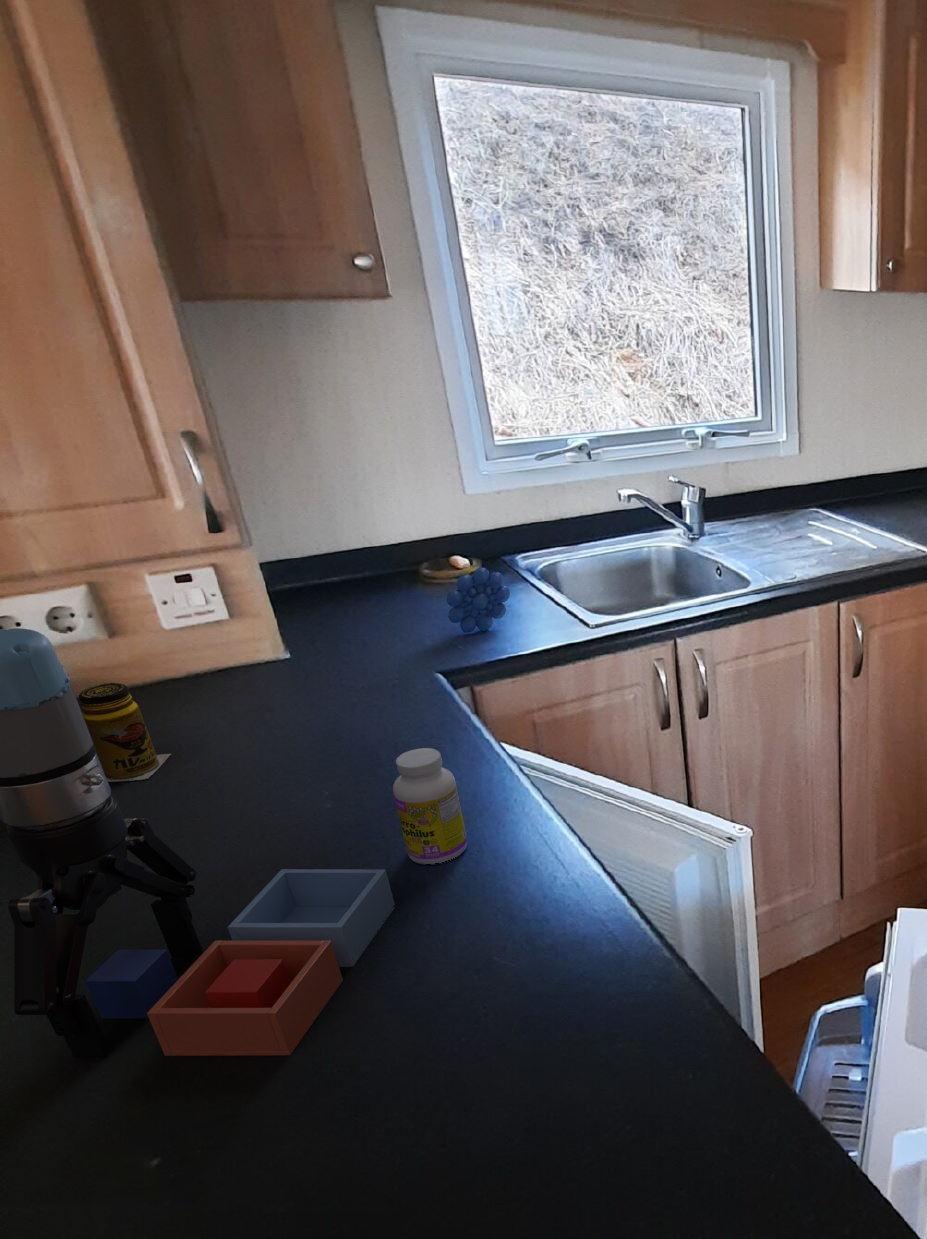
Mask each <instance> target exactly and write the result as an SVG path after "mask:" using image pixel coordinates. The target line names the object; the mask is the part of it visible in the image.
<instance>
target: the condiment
mask: <svg viewBox="0 0 927 1239" xmlns="http://www.w3.org/2000/svg"><path fill="white" fill-rule="evenodd" d="M78 699H79V701H80V702H81V708H82V710H83V712H82V715H83V718H84V720H85V723H86V726H87V728H88V731H89V733H90V736H91V739H92V741H93V746H94V748H95V751H96V754H97V756H98V759H99V761H100V764H101V766H102V769H103V771H104V774H105V776H106V779H107V781H108V783H110V782H112V783H115V782H128V781H129V782H131V781H143V780H147V779H150V777H152V775H154V774H155V773H156V772H157V771H158V770H159V769H160V768H161V767H162V765H163V764H164V763H165V762H166V761H167V759H168V758H169V757H170V756H171V755H172V753H163V754H157V752H156V749H155V748H154V747H155V746H154V744H153V741H152V738H151V736H150V733H149V731H148V727H147V726H146V723H145V720H144V716H143V713H142V712H141V709H140V707H139V704H138V703H137V702H136V701H134V700H133V696H132V694H131V693H130V690H129V687H128V686H127V685H125V684H124V683H121V682H106V683H101V684H97V685H93V686H89V687H88V688H85V689H83V690H82V691H81V692H80V693H79V694H78Z"/></svg>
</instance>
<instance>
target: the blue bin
mask: <svg viewBox="0 0 927 1239" xmlns="http://www.w3.org/2000/svg"><path fill="white" fill-rule="evenodd" d="M393 896H394V895H393V893H392V888H391V885H390V881H389V878H388V873H387V869H379V868H378V869H374V868H373V869H371V868H369V869H367V868H366V869H365V868H364V869H363V868H362V869H361V868H359V869H358V868H356V869H355V868H353V869H347V868H346V869H345V868H344V869H343V868H340V869H333V868H332V869H329V868H328V869H327V868H326V869H325V868H323V869H321V868H319V869H317V868H316V869H314V868H313V869H312V868H311V869H308V868H306V869H305V868H291V869H290V868H281V869H280V871H278V873H276V874H275V875H274V877H273V878H272V879H271V880H270V881H269V882H268V883H267V884H266V885H265V886H264V888H262V890H261V891H260V892H259V893H258V894H257V895H256V896H255V897H254V898H253V899H252V900H251V901H250V902H249V903H248V904H247V905H246V906H245V908H244V909H242V911H241V912H240V913H239V914H238V915H237V916H236V917H235V918H234V920H233V921H232V922H230V924H229V925H228V926H227V931H228V933H229V936H230V938H231V941H325V940H331V942H332V945H333V948H334V952H335V955H336V959H337V962H338V965H339V968H353V967H354V966H355V965H356V963H357V962H358V961H359V959H360V958H361V956H363V953H364V952H365V951H366V949H367V948H368V946H369V945H370V943H371V942H372V941H373V939H374V938H375V936H376V935H377V934H378V932H379V931H380V929H381V928H382V927H383V925H384V924H385V923H386V921H387V920H388V918H389V917H390V915H391V914H392V913H393V911H394V910H395V908H396V905H395V901H394V897H393ZM394 905H395V907H394V908H393V906H394ZM392 908H393V909H392ZM391 910H392V911H391ZM390 911H391V912H390ZM389 913H390V914H389ZM388 914H389V915H388ZM386 917H387V918H386ZM385 918H386V919H385ZM384 920H385V921H384ZM383 921H384V922H383ZM381 924H382V925H381ZM380 925H381V926H380ZM378 928H379V929H378ZM377 929H378V931H377ZM376 931H377V932H376ZM375 932H376V933H375ZM374 934H375V935H374ZM369 941H370V942H369Z"/></svg>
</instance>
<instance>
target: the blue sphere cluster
mask: <svg viewBox="0 0 927 1239" xmlns="http://www.w3.org/2000/svg"><path fill="white" fill-rule="evenodd" d="M504 580H505V579H504V576H503V574H502V573H500V572H499V571H498V572H497V571H496V572H492V573H491V574H490V572H489V570H488V569H487V568H486V567H477V568H476V569H475V570H474V571H473V572H472V576H471V575H470V574H462V575H460V576H458V578H457V580H456V584H455V586H456V588H457V589H453V590H450V591H449V593H448V594H447V595H446V596H447V597H446V603H447V604H448V606H450V607H452V608H450V609H449V611H448V614H447V615H448V616H447V617H448V620H449V621H450V622H451V623H453V624H458V623H459V628H460V629H461V632H464V633H471V632H473V631H474V630H475V629H476V628H477V629H478V630H480V631H481V632H482V631H488V630H489V629H490V628H491V627H492V626H493V623H494V620H499V619H502V618H503V617H504V616H505V615H506V613H507V612H506V611H507V608H506V605H505V604H504V603H506V602H507V601H508V600H509V599H510V597H511V591H510V589H509V587H508V586H506V585H503V584H504ZM493 619H494V620H493Z"/></svg>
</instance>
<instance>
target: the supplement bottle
mask: <svg viewBox="0 0 927 1239" xmlns="http://www.w3.org/2000/svg"><path fill="white" fill-rule="evenodd" d="M395 764H396V770H397V772H398V773H399V775H398V777H397V778H396V779H395V780H394V783H393V785H392V793H393V798H394V802H395V805H396V808H397V809H396V810H397V814H398V819H399V823H400V828H401V832H402V836H403V840H404V845H405V849H406V852H407V855H408V858H409V859H410V860H411V861H412V862H414V863H417V864H419V865H420V864H421V865H426V864H431V865H436V864H435V863H439V864H443V863H442V862H444V863H446V862H445V861H447V862H449V861H448V860H450V861H452V860H454V859H456V858H458V857H460V856H461V855H462V854H463V853H464V852H465V850H466V849H467V847H468V836H467V832H466V831H467V830H466V826H465V821H464V817H463V811H462V807H461V803H460V798H459V793H458V787H457V782H456V778H455V776H454V774H453V773H452V772H451V771H450V770H449V769H447V768H445V767H443V760H442V755H441V752H440V751H439V750H437V749H435V748H430V747H421V748H414V749H411V750H408V751H405V752H403V753H401V754H400V755H399V756H398V757H396V759H395ZM455 857H456V858H455ZM453 858H454V859H453ZM451 859H452V860H451ZM439 864H438V865H439ZM431 865H430V866H431Z"/></svg>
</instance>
